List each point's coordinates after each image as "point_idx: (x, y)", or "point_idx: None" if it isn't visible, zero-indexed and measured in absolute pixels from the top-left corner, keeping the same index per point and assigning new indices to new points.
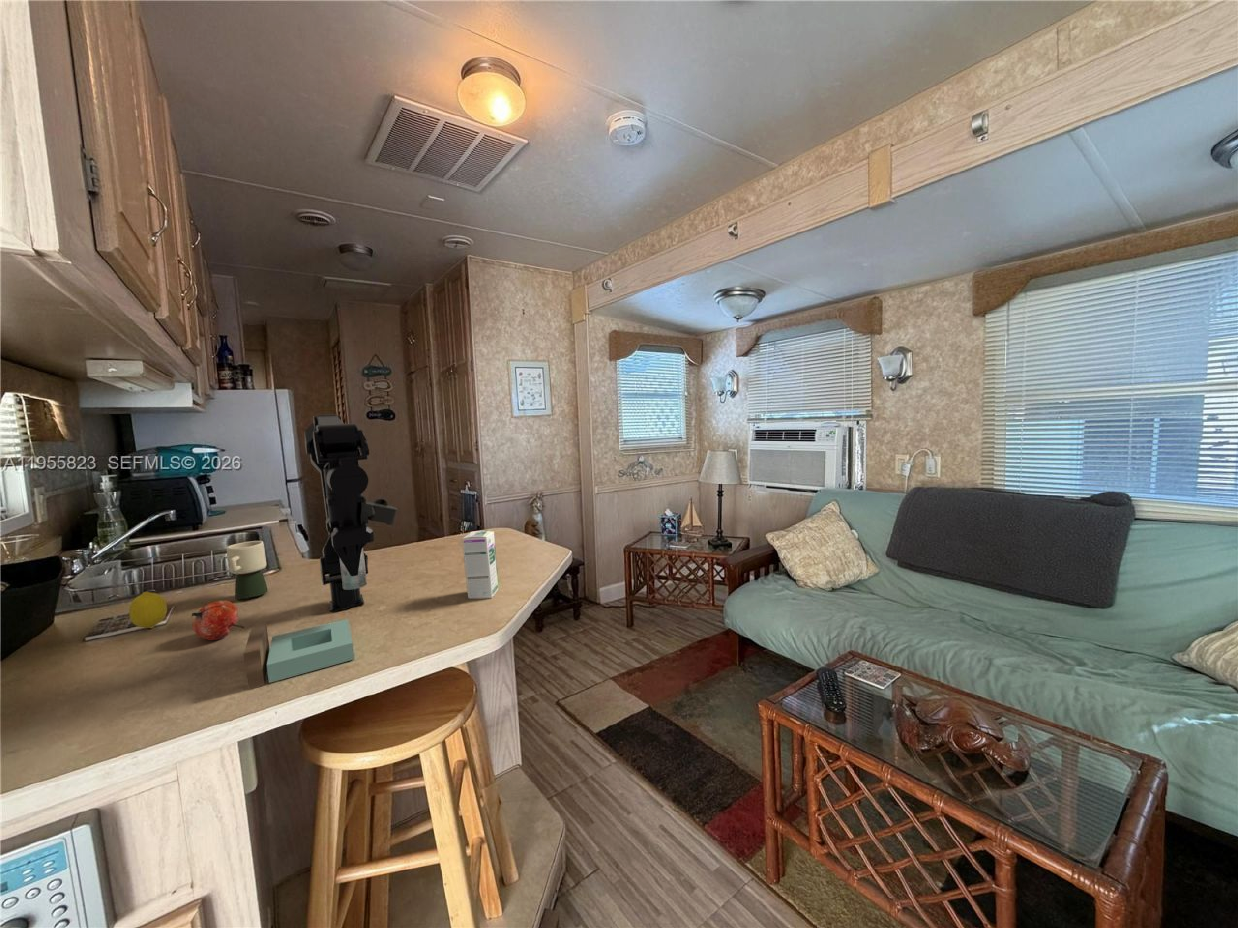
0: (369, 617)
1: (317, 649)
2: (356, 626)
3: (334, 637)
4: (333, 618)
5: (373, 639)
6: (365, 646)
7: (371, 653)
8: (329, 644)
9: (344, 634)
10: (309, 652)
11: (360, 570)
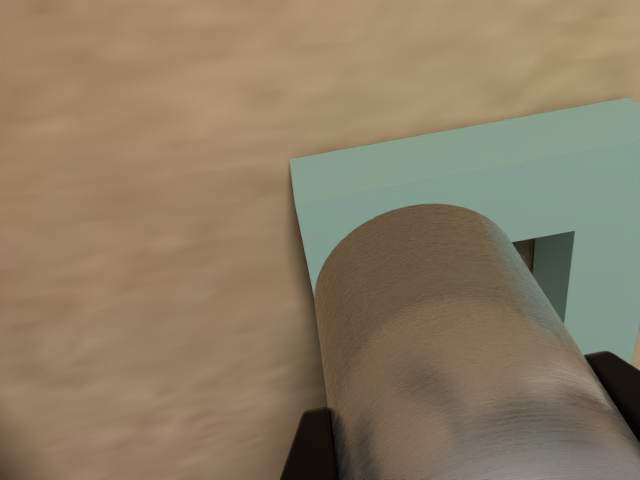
0: (59, 82)
1: (623, 269)
2: (183, 139)
3: (533, 227)
4: (11, 267)
5: (431, 26)
6: (498, 60)
7: (609, 21)
8: (607, 233)
9: (530, 187)
10: (631, 292)
11: (580, 356)
